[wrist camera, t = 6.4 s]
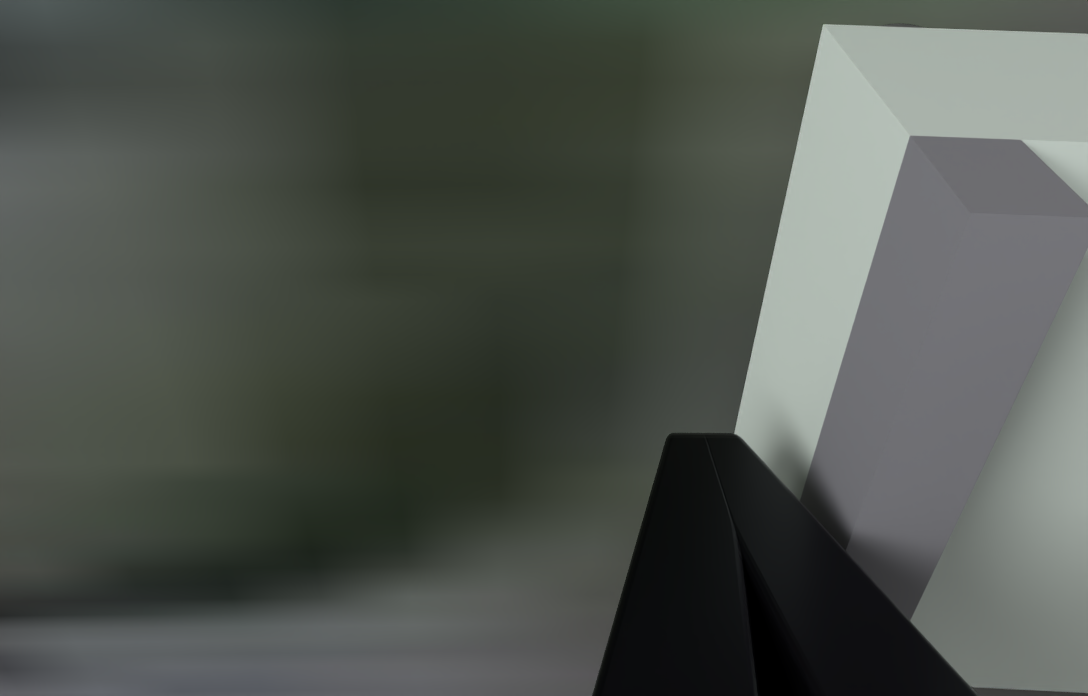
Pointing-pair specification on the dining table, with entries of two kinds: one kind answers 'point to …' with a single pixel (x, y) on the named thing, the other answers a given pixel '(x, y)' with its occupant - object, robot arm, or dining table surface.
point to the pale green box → (941, 337)
